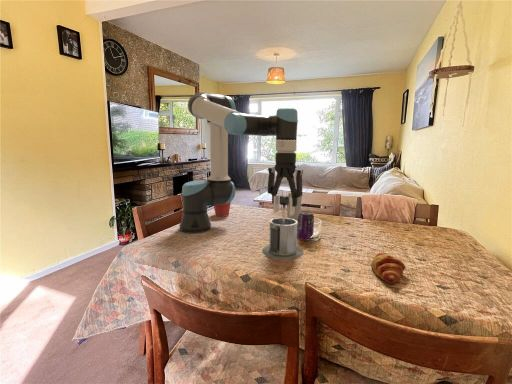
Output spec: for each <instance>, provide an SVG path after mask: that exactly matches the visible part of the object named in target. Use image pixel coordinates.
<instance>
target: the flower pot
mask: <svg viewBox="0 0 512 384" xmlns="http://www.w3.org/2000/svg"><path fill="white" fill-rule="evenodd" d="M231 203H232V201H231V202H230V203H226V204H223V205H222V204H220V205H213V210H214V213H215V214H214V215H215V217H220V216H221V217H222V216H223V217H227V216H229V215H230V209H231Z"/></svg>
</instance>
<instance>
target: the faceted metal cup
mask: <svg viewBox="0 0 512 384" xmlns="http://www.w3.org/2000/svg"><path fill="white" fill-rule="evenodd" d="M297 224H298V223H297V221H296V220H294V219H290V218H287V217H285V225H282V217H276V218H275V217H274V218H272V219H270V220H269V252H270V253H271V254H273V255H275V256H281V257H288V256H293V255H295V254H296V253H297V249H296V248H297V247H298V244H297V243H298V241H297V240H298V237H297V228H298V227H297Z"/></svg>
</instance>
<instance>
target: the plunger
mask: <svg viewBox="0 0 512 384" xmlns="http://www.w3.org/2000/svg"><path fill="white" fill-rule="evenodd" d="M288 204H289V196H288V195H279V205H282V217H281V218H282V225H285V218H286V206H287V205H288Z"/></svg>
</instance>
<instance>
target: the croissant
mask: <svg viewBox="0 0 512 384" xmlns="http://www.w3.org/2000/svg"><path fill="white" fill-rule="evenodd" d="M370 267H371V268H372V270H373V272H374V273H375V274H376V276H378V277H379V278H381V279H382V281H384V282H386V283H388V284H394V283H397V282H399V281H400V279H401V278H402V276H403V275H404V271H405V269H406V265H405V263H404V262H403V261H402V260H401V259H400V258H398V257H396V256H393V255H391V254H388V253H385V252H379V253H377V254H375V256H374V258H373V259H372V261H371V262H370Z"/></svg>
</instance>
